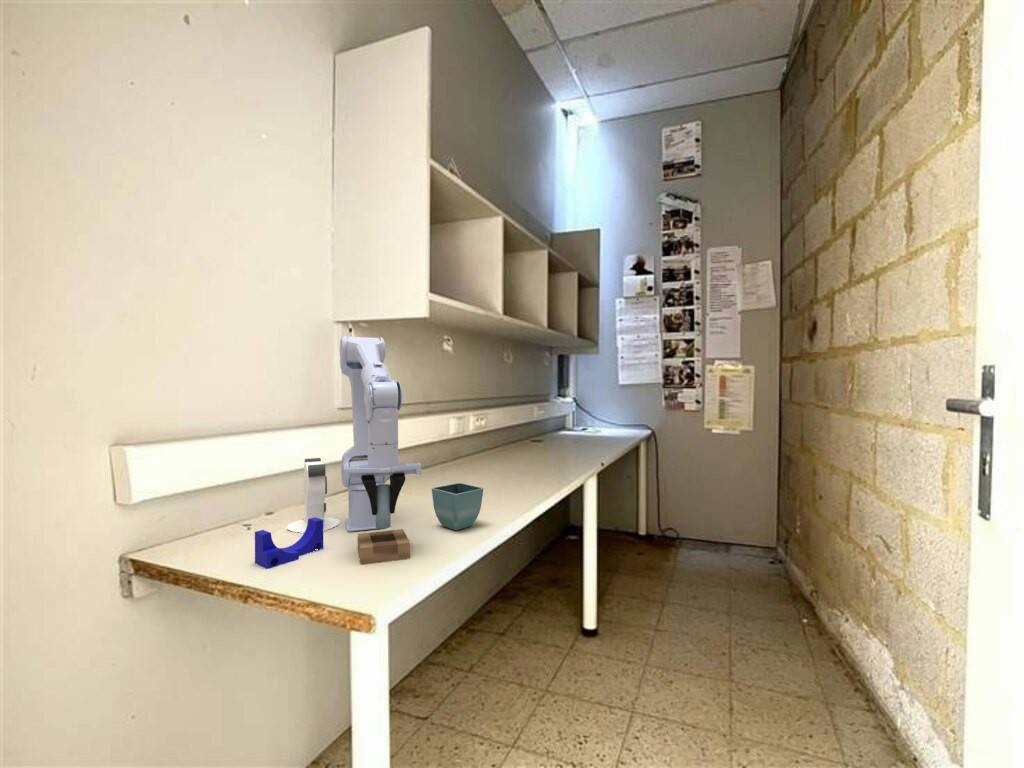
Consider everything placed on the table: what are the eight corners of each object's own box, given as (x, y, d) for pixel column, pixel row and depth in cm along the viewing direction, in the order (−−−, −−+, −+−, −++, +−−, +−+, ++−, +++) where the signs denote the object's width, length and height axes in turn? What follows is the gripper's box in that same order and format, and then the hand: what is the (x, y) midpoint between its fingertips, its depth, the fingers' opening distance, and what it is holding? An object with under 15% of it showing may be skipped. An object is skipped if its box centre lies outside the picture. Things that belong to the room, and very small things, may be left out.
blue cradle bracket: (267, 569, 87) (266, 536, 87) (254, 564, 90) (254, 531, 90) (327, 551, 97) (327, 521, 97) (315, 546, 100) (315, 517, 99)
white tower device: (343, 529, 110) (343, 463, 110) (288, 537, 105) (288, 467, 105) (336, 516, 121) (336, 456, 121) (285, 522, 116) (285, 459, 116)
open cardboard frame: (357, 548, 98) (357, 533, 98) (403, 543, 101) (403, 528, 101) (360, 564, 89) (360, 548, 89) (410, 558, 92) (410, 542, 92)
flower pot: (484, 526, 113) (484, 487, 113) (456, 535, 106) (456, 494, 106) (459, 518, 119) (459, 482, 119) (430, 527, 112) (430, 488, 112)
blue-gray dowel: (375, 525, 96) (375, 484, 96) (390, 524, 97) (390, 483, 97) (375, 529, 93) (375, 487, 93) (391, 528, 94) (390, 486, 94)
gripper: (344, 447, 89) (344, 522, 89) (424, 443, 94) (424, 514, 94) (343, 442, 95) (343, 512, 95) (417, 439, 100) (417, 505, 100)
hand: (383, 513), depth 95 cm, fingers closed on blue-gray dowel, 3 cm apart
